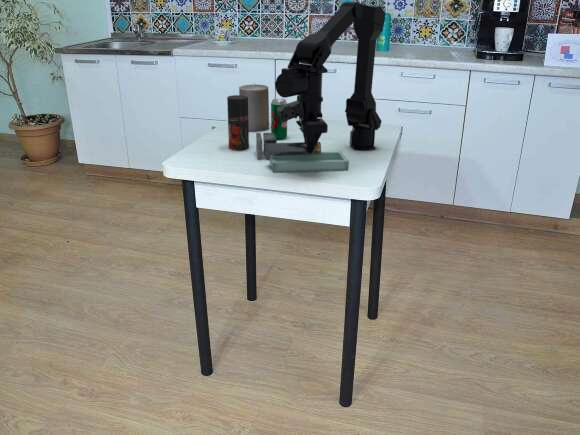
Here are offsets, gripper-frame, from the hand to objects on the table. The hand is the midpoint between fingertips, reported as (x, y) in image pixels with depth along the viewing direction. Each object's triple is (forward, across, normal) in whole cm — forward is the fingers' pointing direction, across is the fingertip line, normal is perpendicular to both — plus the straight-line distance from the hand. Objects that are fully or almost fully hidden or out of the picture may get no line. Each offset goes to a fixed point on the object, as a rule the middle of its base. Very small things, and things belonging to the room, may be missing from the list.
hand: (308, 150), depth 147 cm
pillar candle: (+4, -41, -12) cm, 43 cm away
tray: (+4, 0, 0) cm, 4 cm away
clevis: (+4, -10, -11) cm, 15 cm away
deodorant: (+4, -18, -18) cm, 26 cm away
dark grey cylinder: (+1, 0, -4) cm, 4 cm away
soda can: (+4, -28, -5) cm, 29 cm away
